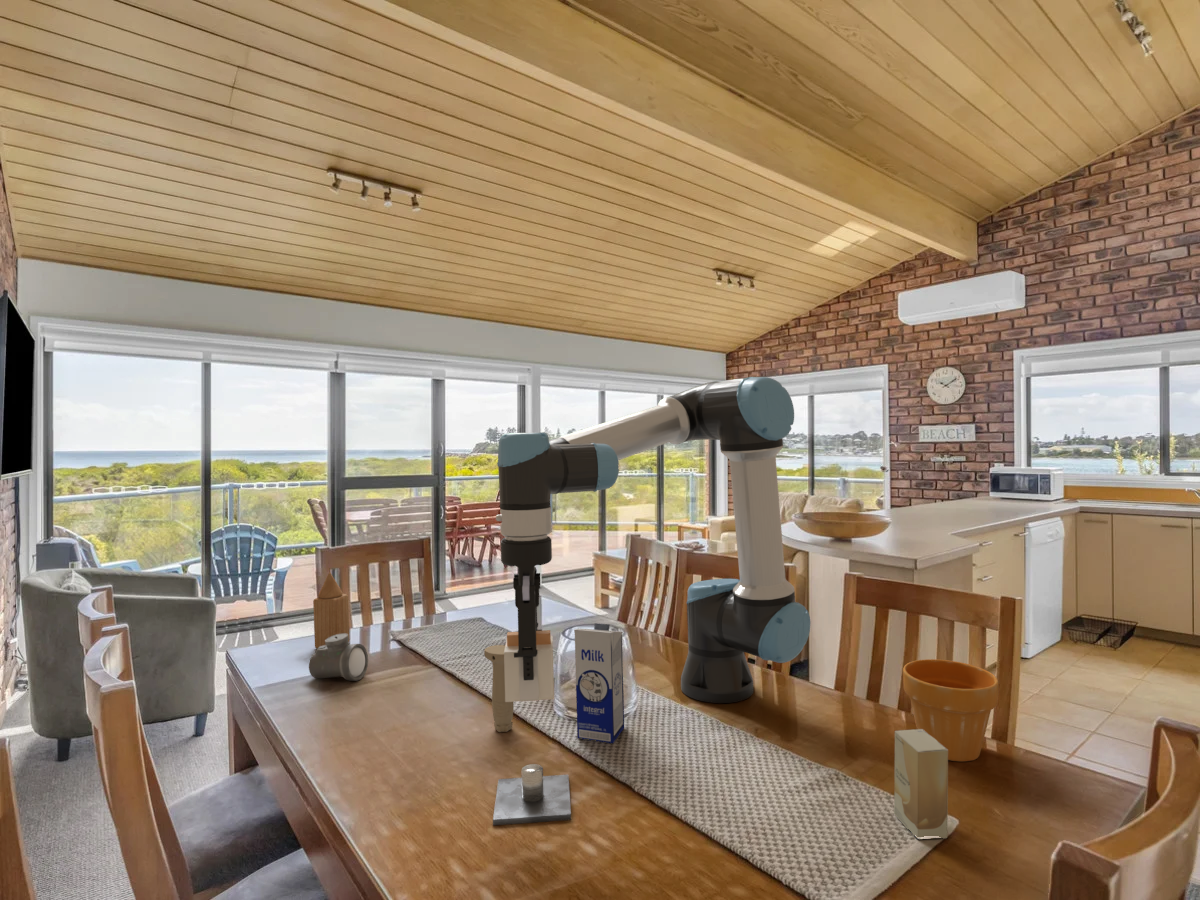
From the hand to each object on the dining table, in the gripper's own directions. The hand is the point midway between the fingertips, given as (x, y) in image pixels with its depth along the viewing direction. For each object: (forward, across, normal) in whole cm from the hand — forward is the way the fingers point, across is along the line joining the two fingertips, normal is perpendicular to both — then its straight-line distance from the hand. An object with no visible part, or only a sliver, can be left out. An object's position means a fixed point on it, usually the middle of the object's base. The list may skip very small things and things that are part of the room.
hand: (530, 689), depth 98 cm
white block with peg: (0, 0, 0) cm, 0 cm away
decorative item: (+17, -82, -55) cm, 100 cm away
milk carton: (+17, -21, +12) cm, 30 cm away
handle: (+17, -25, -6) cm, 31 cm away
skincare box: (+17, +13, +53) cm, 57 cm away
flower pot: (+17, -7, +70) cm, 72 cm away
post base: (+17, 0, 0) cm, 17 cm away
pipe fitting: (+17, -57, -46) cm, 75 cm away
